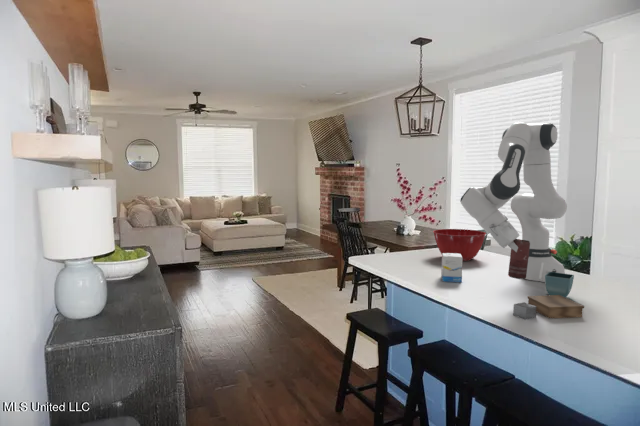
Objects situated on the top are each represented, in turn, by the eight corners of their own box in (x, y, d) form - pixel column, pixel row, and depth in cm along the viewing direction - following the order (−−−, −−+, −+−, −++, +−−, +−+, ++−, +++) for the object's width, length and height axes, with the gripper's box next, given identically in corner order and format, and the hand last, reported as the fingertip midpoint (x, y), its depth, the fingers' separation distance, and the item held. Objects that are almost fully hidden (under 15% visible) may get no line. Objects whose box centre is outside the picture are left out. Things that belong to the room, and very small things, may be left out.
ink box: (462, 282, 187) (463, 256, 186) (442, 281, 189) (443, 256, 188) (459, 277, 195) (460, 253, 194) (440, 276, 197) (441, 252, 196)
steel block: (523, 313, 147) (524, 302, 147) (535, 317, 143) (536, 306, 142) (513, 315, 145) (513, 304, 145) (525, 320, 141) (526, 308, 140)
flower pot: (548, 292, 172) (549, 271, 171) (573, 296, 166) (574, 274, 165) (543, 297, 165) (544, 275, 164) (569, 302, 159) (570, 279, 159)
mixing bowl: (422, 255, 247) (423, 229, 246) (464, 252, 256) (464, 227, 254) (451, 265, 220) (452, 236, 219) (496, 262, 229) (497, 234, 227)
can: (519, 275, 160) (523, 239, 158) (529, 279, 153) (534, 241, 152) (504, 274, 159) (508, 238, 158) (514, 278, 153) (518, 241, 151)
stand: (558, 305, 155) (559, 295, 155) (583, 317, 143) (584, 305, 142) (526, 306, 154) (527, 296, 154) (548, 318, 142) (549, 307, 141)
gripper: (495, 220, 149) (523, 250, 145) (506, 215, 166) (532, 241, 162) (481, 232, 152) (509, 261, 148) (493, 225, 169) (519, 252, 165)
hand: (521, 251), depth 155 cm, fingers closed on can, 4 cm apart
